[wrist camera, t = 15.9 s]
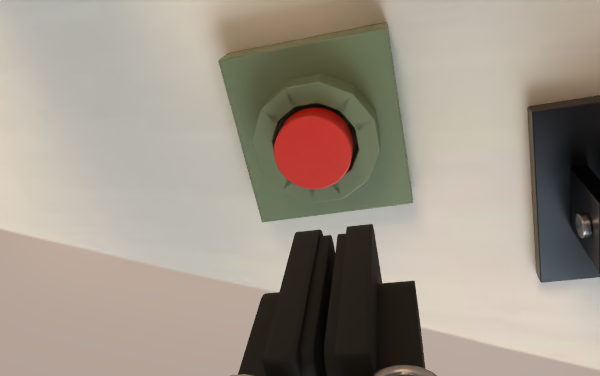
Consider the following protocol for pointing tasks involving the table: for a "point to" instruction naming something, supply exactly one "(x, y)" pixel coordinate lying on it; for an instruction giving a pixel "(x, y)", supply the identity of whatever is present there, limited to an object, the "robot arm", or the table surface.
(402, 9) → the table surface
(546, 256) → the bracket
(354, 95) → the control block
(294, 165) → the button
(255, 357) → the robot arm
